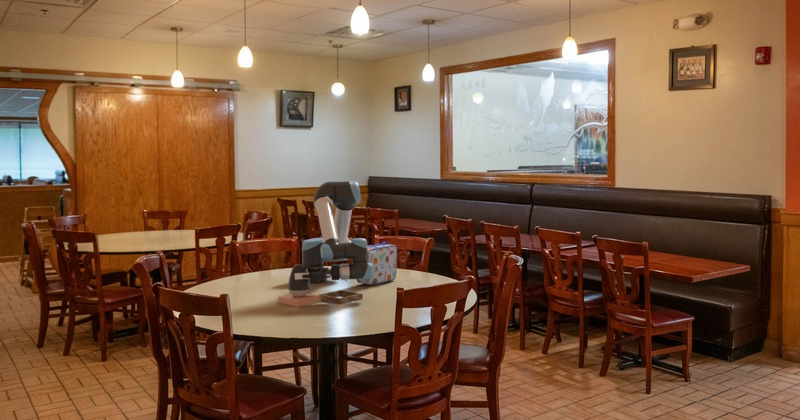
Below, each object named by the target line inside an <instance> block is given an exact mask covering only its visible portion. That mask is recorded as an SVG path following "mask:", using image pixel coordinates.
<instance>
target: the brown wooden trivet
mask: <svg viewBox="0 0 800 420" xmlns="http://www.w3.org/2000/svg"><path fill="white" fill-rule="evenodd" d="M317 295H320V299H321V302H322V301H323V302H329V303H333V304H338V305H341V304H345V303H351V302H355V301H358V300H363V298H364V297H363V295H364V294H363V293H360V292H356V291H350V290H343V289H339V290H334V291H328V292H324V293H320V294H317ZM340 296H343V297H340Z"/></svg>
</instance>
